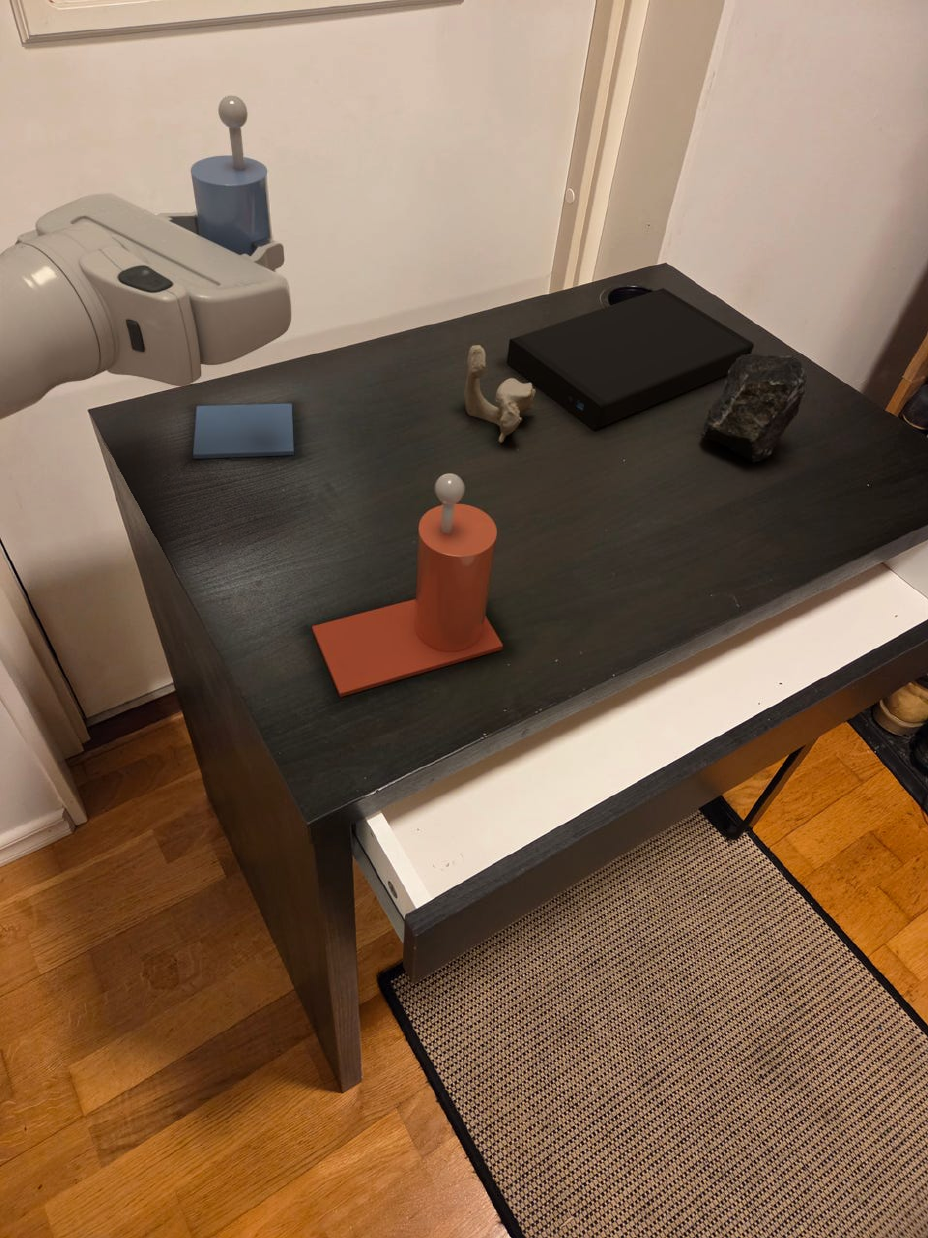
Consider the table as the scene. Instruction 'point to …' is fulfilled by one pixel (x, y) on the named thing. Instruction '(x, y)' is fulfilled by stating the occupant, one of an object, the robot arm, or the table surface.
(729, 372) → the rock
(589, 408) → the external hard drive
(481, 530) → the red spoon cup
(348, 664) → the red mat
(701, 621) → the table surface
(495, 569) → the table surface
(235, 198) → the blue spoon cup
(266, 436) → the blue mat
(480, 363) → the bone
